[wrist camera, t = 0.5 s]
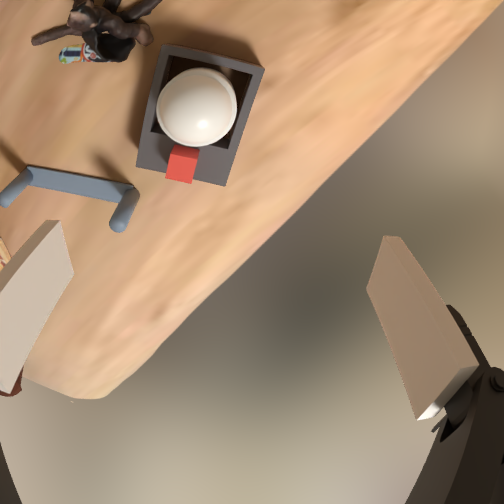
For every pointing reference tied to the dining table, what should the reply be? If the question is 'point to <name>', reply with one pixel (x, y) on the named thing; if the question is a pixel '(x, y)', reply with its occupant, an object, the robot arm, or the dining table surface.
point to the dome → (197, 107)
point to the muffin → (16, 387)
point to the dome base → (189, 157)
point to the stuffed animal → (97, 21)
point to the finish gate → (77, 191)
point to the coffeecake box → (3, 255)
